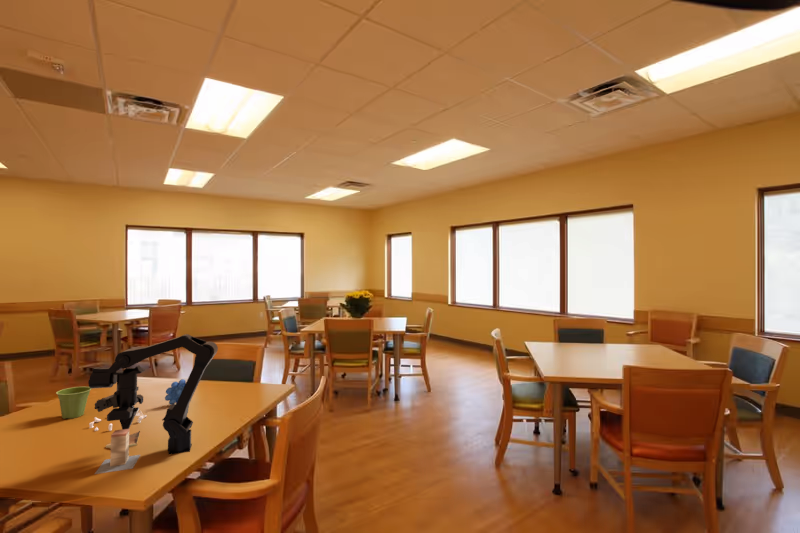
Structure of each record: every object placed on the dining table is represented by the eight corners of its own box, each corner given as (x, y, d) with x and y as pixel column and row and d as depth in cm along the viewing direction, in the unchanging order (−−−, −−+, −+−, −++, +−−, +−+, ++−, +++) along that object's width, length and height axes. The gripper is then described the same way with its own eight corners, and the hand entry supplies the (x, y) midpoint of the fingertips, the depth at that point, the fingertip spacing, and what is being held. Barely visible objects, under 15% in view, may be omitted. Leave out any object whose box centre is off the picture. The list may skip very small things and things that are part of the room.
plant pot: (70, 422, 159) (71, 395, 159) (47, 419, 161) (48, 393, 162) (97, 412, 171) (98, 387, 171) (76, 410, 173) (77, 385, 173)
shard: (139, 435, 148) (139, 429, 148) (157, 438, 145) (157, 433, 145) (104, 449, 136) (104, 443, 136) (122, 454, 133) (122, 447, 133)
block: (128, 458, 128) (129, 428, 128) (125, 464, 124) (126, 433, 124) (114, 460, 126) (115, 430, 127) (110, 466, 123) (111, 435, 123)
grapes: (193, 400, 189) (193, 376, 189) (192, 404, 183) (192, 379, 183) (165, 403, 184) (166, 378, 184) (163, 407, 178) (164, 382, 178)
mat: (140, 455, 131) (140, 454, 131) (132, 469, 122) (132, 468, 122) (105, 460, 127) (105, 459, 127) (94, 475, 118) (94, 474, 118)
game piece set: (157, 417, 167) (157, 408, 167) (111, 435, 148) (112, 425, 148) (123, 412, 172) (123, 404, 172) (75, 429, 153) (75, 420, 153)
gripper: (107, 381, 137) (106, 425, 137) (87, 397, 120) (86, 447, 119) (144, 378, 141) (143, 421, 141) (130, 393, 124) (128, 441, 124)
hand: (125, 431), depth 131 cm, fingers closed
